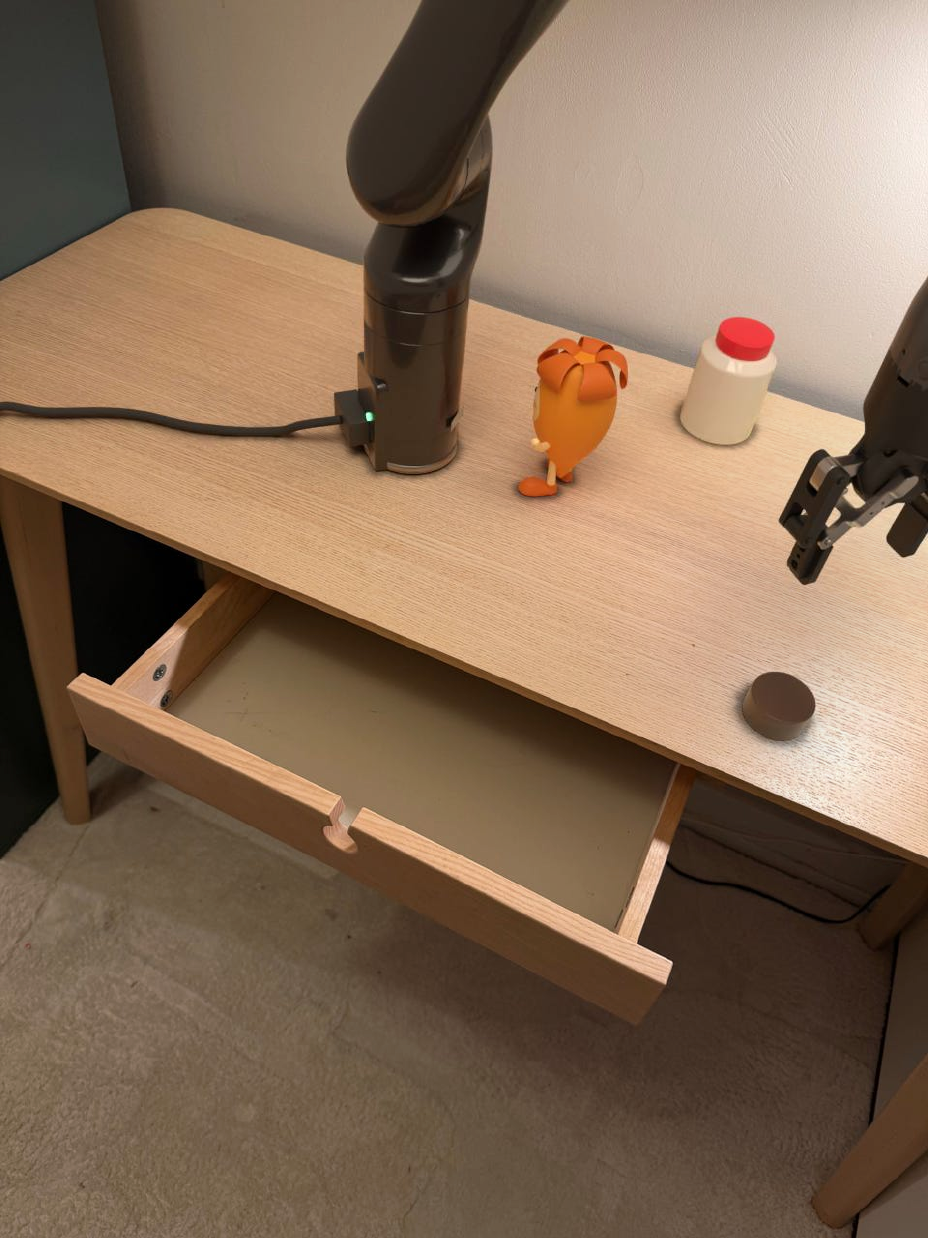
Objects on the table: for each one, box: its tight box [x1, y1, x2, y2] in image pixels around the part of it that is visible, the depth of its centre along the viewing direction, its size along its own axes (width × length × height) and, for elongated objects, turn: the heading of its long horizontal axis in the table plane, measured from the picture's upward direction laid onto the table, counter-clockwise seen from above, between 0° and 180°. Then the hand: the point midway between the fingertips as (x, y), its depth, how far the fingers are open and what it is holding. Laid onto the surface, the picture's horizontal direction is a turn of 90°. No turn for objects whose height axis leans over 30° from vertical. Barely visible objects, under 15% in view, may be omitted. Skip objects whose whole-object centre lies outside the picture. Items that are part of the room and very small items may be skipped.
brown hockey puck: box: [741, 671, 817, 741], centre depth 72 cm, size 5×5×2 cm
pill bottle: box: [679, 316, 778, 446], centre depth 94 cm, size 8×8×11 cm
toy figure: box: [518, 335, 629, 497], centre depth 83 cm, size 12×8×15 cm, turn 143°
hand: (849, 562), depth 63 cm, fingers open, 8 cm apart
